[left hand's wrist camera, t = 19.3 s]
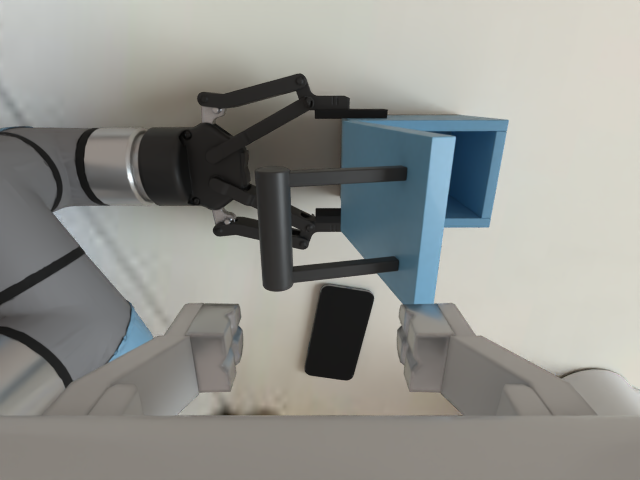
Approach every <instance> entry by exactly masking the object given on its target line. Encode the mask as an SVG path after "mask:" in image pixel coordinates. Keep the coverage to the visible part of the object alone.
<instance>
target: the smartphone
mask: <svg viewBox="0 0 640 480" xmlns="http://www.w3.org/2000/svg"><path fill="white" fill-rule="evenodd" d="M373 301H374V296H373V293H372V292H371V291H369V290H364V289H358V288H351V287H345V286H339V285H332V284H326V285H324V286H323V287H322V288H321V290H320V295H319V300H318V305H317V310H316V314H315V319H314V324H313V329H312V334H311V339H310V343H309V347H308V354H307V358H306V363H305V372H306V373H307V374H308V375H311V376H318V377H325V378H332V379H339V380H350V379H351V378H352V377H353V375H354V372H355V368H356V364H357V361H358V357H359V353H360V350H361V346H362V342H363V338H364V335H365V331H366V327H367V324H368V320H369V316H370V313H371V309H372V305H373Z"/></svg>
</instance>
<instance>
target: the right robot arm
mask: <svg viewBox="0 0 640 480" xmlns="http://www.w3.org/2000/svg"><path fill="white" fill-rule="evenodd" d="M294 91H296V92H297V95H298V98H299V100H297V101H296V102H294V103H292V104H290V105H289V106H287V107H285V108H283V109H282V110H280V111H278V112H276V113H275V114H273V115H271V116H269V117H268V118H266V119H264V120H262V121H261V122H259V123H257V124H255V125H254V126H252V127H250V128H248V129H247V130H245V131H243V132H241V133H239V134H237V135H236V136H232V135H231V134H229V133H228V132H227V131H225V130H224V129H222V128H221V127H220V126H218V125H217V124H215V121H216V119H217V118H218V117H221V116H224V115H225V114H226V111H227V108H234V107H239V106H242V105H246V104H250V103H253V102H257V101H261V100H265V99H268V98H272V97H276V96H279V95H283V94H287V93H290V92H294ZM197 100H198V103H199V104H200V105H201V106H202V123H200V124H199V125H197V126H195V127H177V128H150V129H149V130H146V129H144V128H92V129H83V128H33V127H28V126H20V127H6V128H1V129H0V416H42V415H43V413H44V412H45V411H46V410H47V409H48V408H49V407H50V406H51V404H52V403H53V402H54V401H55V400H56V399H57V398H58V397H59V395H60V394H61V393H62V392H63V391H64V390H65V389H66V388H67V387H68V385H69V384H70V383H71V382H73V381H75V380H77V379H79V378H81V377H83V376H84V375H86V374H88V373H90V372H92V371H94V370H96V369H97V368H99V367H101V366H103V365H105V364H107V363H109V362H111V361H112V360H114V359H116V358H118V357H120V356H122V355H124V354H125V353H127V352H129V351H131V350H133V349H135V348H137V347H138V346H140V345H142V344H144V343H146V342H148V341H150V340H152V339H153V336H152V334H151V332H150V331H149V329H148V328H147V327H146V325H145V324H144V323H143V321H142V320H141V318H140V317H139V316H138V314H137V313H136V311H135V310H134V307H133V306H132V304H131V303H130V302H129V301H127V300H126V299H125V298H124V297H123V296H122V295H121V294H120V293H119V291H118V290H117V289H116V288H115V287H114V286H113V285H112V283H111V282H110V281H109V280H108V279H107V278H106V277H105V275H104V274H103V273H102V272H101V271H100V270H99V269H98V267H97V266H96V265H95V264H94V263H93V262H92V261H91V259H90V258H89V257H88V256H87V255H86V254H85V252H84V250H83V249H82V248H81V247H80V245H79V244H78V243H77V242H76V241H75V239H74V238H73V237H72V236H71V235H70V233H69V232H68V231H67V230H66V229H65V227H64V226H63V225H62V224H61V222H60V221H59V220H58V219H57V218H56V216H55V215H54V214H53V213H52V212H54V211H57V210H59V209H62V208H64V207H69V206H102V205H104V206H151V205H153V204H157V205H159V206H204V207H206V208H208V209H210V210H212V212H213V216H214V220H215V227H214V228H213V233H214V234H215V235H216V236H229V235H239V236H244V237H248V238H253V239H257V240H260V237H259V223H258V220H255V219H251V218H246V217H236V215H235V214H234V213H232V212H228V211H226V210H225V208H224V206H226V205H227V204H228V203H230V202H231V201H232V200H236V201H238V202H240V203H242V204H244V205H247V206H252V207H254V208H256V209H257V195H256V186H254V185H252V184H250V183H249V182H250V181H251V180H250V172H249V169H248V166H247V165H248V160H249V153H248V150H247V149H246V147H245V146H246V145H248V144H250V143H252V142H253V141H255V140H257V139H259V138H261V137H262V136H264V135H266V134H268V133H269V132H271V131H273V130H275V129H277V128H278V127H280V126H282V125H284V124H285V123H287V122H289V121H291V120H293V119H294V118H296V117H298V116H300V115H302V114H303V113H305V112H307V111H309V110H315V119H347V118H387V111H388V110H386V109H349V101H350V98H348V97H346V96H316V95H314V94H312V92H311V91H310V88H309V85H308V82H307V79H306V77H305V76H304V75H303V74H295V75H292V76H288V77H284V78H281V79H277V80H273V81H270V82H266V83H262V84H259V85H255V86H251V87H248V88H244V89H240V90H237V91H233V92H230V93H226V94H219V93H209V92H201V93H199V95H198V97H197ZM291 225H292V226H294V227H296V228H298V229H294V228H292V247H293V248H297V249H303V250H304V249H306V248H307V247H308V246H309V242H310V239H311V236H312V235H313V234H314V233H315V232H341V208H316V217H315V216H314V214H312V215H310V214H308V213H306V212H304V211H302V210H300V209H298V208H296V207H294V206H292V205H291ZM299 229H300V230H299Z"/></svg>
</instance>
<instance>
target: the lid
mask: <svg viewBox="0 0 640 480" xmlns="http://www.w3.org/2000/svg"><path fill="white" fill-rule="evenodd" d="M455 140H456V136H451V135H444V134H438V133H432V132H425V131H419V130H413V129H406V128H400V127H394V126H387V125H381V124H374V123H368V122H362V121H343V143H342V168H332V169H309V170H289V169H288V168H286V167H279V166H270V167H261V168H258V169H256V170H255V181H256V195H257V209H258V223H259V237H260V252H261V266H262V280H263V286H264V288H265V289H267V290H269V291H275V292H278V291H284V290H287V289H289V288H291V287H292V285H293V283H296V282H305V281H314V280H323V279H332V278H340V277H349V276H358V275H367V274H376V273H377V274H378V275H379V276H380V278H381V279H382V280H383V281H384V282H385V283H386V285H387V286H388V287H389V288H390V289H391V291H392V292H393V293H394V294H395V295H396V296H397V298H398V299H399V300H400V301H401V302H402V303H403V304H434V296H435V289H436V282H437V274H438V267H439V259H440V252H441V244H442V237H443V230H444V222H445V215H446V207H447V200H448V192H449V185H450V178H451V170H452V163H453V155H454V148H455ZM337 184H342V191H341V232H342V233H343V234H344V235H345V236H346V237H347V239H348V240H349V241H350V242H351V243H352V245H353V246H354V247H355V248H356V249H357V250H358V252H359V253H360V254H361V255H362V256H363V258H364V259H361V260H351V261H341V262H332V263H322V264H312V265H303V266H293V254H292V225H291V195H290V187H301V186H319V185H337Z"/></svg>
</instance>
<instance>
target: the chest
mask: <svg viewBox="0 0 640 480" xmlns="http://www.w3.org/2000/svg"><path fill="white" fill-rule="evenodd" d="M343 121H362V122H368V123H374V124H381V125H387V126H394V127H400V128H406V129H413V130H419V131H425V132H432V133H438V134H444V135H451V136H456V140H455V148H454V155H453V163H452V170H451V178H450V185H449V192H448V200H447V207H446V215H445V222H444V227H489V225H490V220H491V214H492V208H493V203H494V197H495V192H496V187H497V181H498V176H499V170H500V165H501V160H502V154H503V149H504V143H505V138H506V131H507V127H508V122H509V120H504V119H494V118H484V117H474V116H465V115H387V118H347V119H342V123H341V168H342V143H343ZM341 191H342V184H340V198H341Z"/></svg>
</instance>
